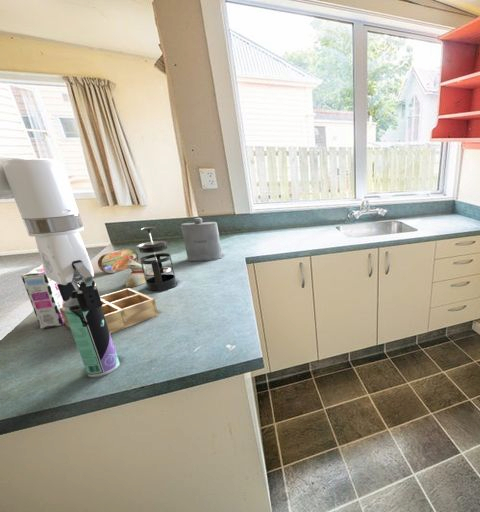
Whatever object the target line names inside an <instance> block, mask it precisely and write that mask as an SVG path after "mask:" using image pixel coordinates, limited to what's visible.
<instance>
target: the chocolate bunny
mask: <svg viewBox="0 0 480 512" xmlns="http://www.w3.org/2000/svg"><path fill="white" fill-rule="evenodd" d="M127 267H128V268H127V269H130V270H131V272H130V275H128V276H127V277H126V280H125V287H126V289H127V288H130V289H131V288H134V287H138V286H141V285H143V284H146V280H145V276H144V273H143V269H142V265H141V263H139V262H135V261H133V260H129V263H128V264H127ZM143 267H144V270H145V272H146V271H147V269H146V267H145V264H143Z"/></svg>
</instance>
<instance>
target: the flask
mask: <svg viewBox="0 0 480 512" xmlns="http://www.w3.org/2000/svg"><path fill="white" fill-rule="evenodd" d="M192 219H193V222H186V223H181V224H180V229H181V234H182V238H183V243H184V247H185V253H186V257H187V260H188V261H189V262H202V261H214V260H219V259H222V258H223V252H222V246H221V239H220V233H219V228H218V227H219V226H218V223H217V222H216V221H205V222H203V221H204V220H203V218H201V217H194V218H192Z"/></svg>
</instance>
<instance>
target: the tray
mask: <svg viewBox="0 0 480 512" xmlns="http://www.w3.org/2000/svg"><path fill="white" fill-rule="evenodd" d="M99 296H100V299H101V302H102V306H101V307H102V310H103V313H104V316H105V320H106V323H107V326H108V329H109V332H110V335H112V334H114V333H116V332H119V331H122V330H124V329H126V328H129V327H132V326H135V325H137V324H139V323H143V322H145V321H147V320H150V319H152V318H156V317H158V316H159V310H158V307H157V304H156V300H155V299H156V298H153V297H152V296H148V295H146V294H144V293H142V292H140V291H137V290H135V289H132V288H131V287H130V288H127V287H126V288H123V289H120V290H117V291H113V292H110V293H107V294H104V295H99ZM60 311H61V314H62V317H63V319H64V322H65V323H64V324H65V326H66V327H67V328H68V329H70V330H71V328H70V325H69V322H68V320H67V317H66V314H65V311H64V309H63V308H60Z"/></svg>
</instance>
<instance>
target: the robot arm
mask: <svg viewBox="0 0 480 512" xmlns="http://www.w3.org/2000/svg"><path fill="white" fill-rule="evenodd" d="M10 199H14V201H15V203H16V204H15V205H16V207H17V209H18V211H19V214H20V217H21V219H22V222H23V225H24V227H25V229H26V232H27V235H28V237H34V239H35V244H36V247H37V251H38V254H39V257H40V260H41V263H42V264H43V267H44V270H45V273H46V275H47V277H48V278H49V279H51V280H53V281H55V282H57V283H58V284H57V286H58V288H59V291H60V294H61V296H62V299H63V301H68V300H69V299H70V297H71V295H72V292H73V291H75V290H76V291H77V294H75V295H76V298H77V300H78V303H79V306H80V309H81V311H83V312H86V311H89V310H92V309H95V308H98V307H101V306H102V302H101V299H100V296H101V295H100V293H99V290H98V286H97V285H96V282H95V280H94V279H93V277H95V272H94V268H93V265H92V263H91V259H90V255H89V253H88V251H87V249H86V246H85V243H84V240H83V239H82V236H81V233H80V232H82V231H84V230H85V228H84V225H83V221H82V219H81V218H82V217H81V216H80V212H79V209H78V205H77V203H76V200H75V196H74V193H73V190H72V187H71V184H70V181H69V177H68V175H67V172H66V168H65V166H64V165H63V164H62V162H60V161H58V160H56V159H52V158H18V157H0V200H10Z"/></svg>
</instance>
